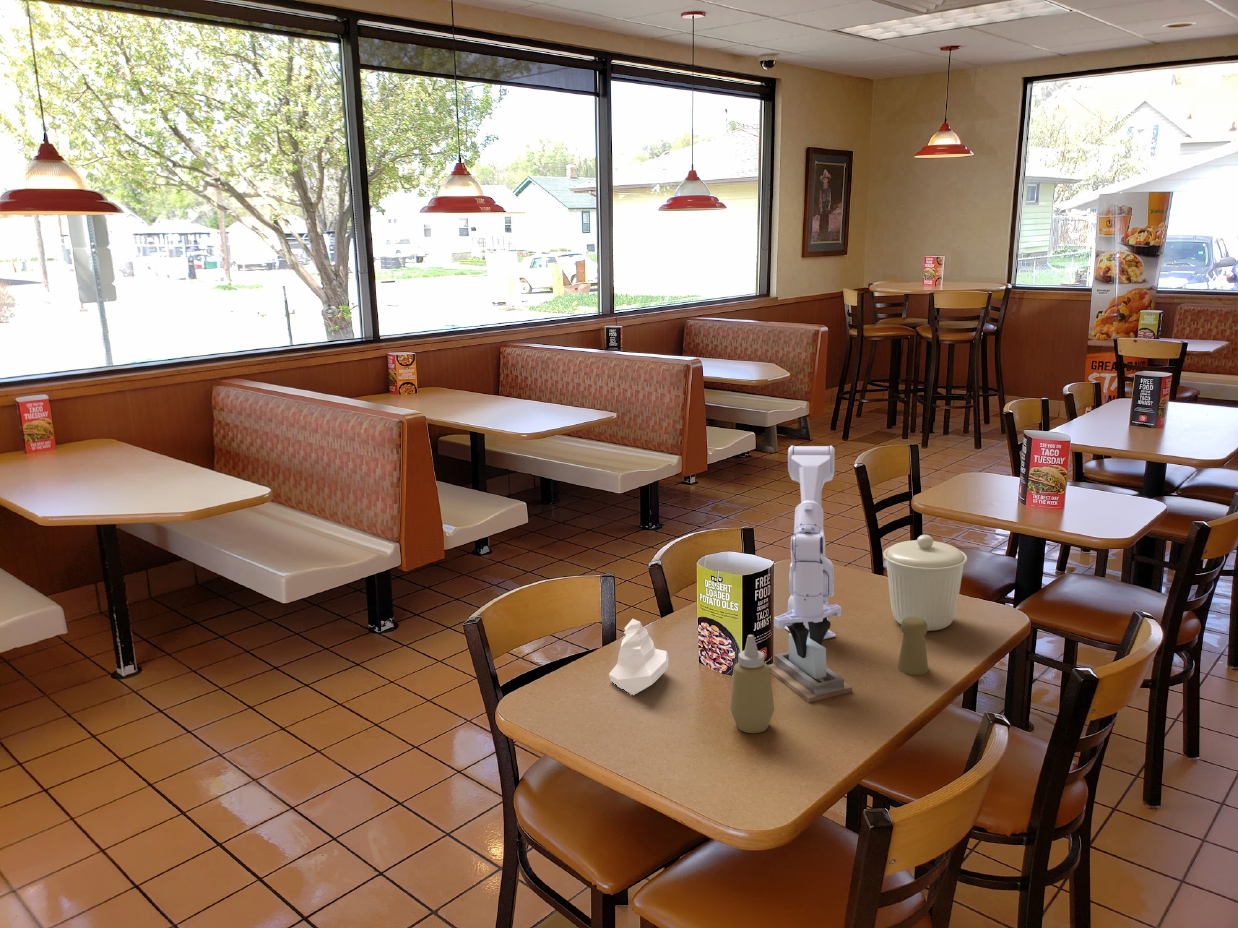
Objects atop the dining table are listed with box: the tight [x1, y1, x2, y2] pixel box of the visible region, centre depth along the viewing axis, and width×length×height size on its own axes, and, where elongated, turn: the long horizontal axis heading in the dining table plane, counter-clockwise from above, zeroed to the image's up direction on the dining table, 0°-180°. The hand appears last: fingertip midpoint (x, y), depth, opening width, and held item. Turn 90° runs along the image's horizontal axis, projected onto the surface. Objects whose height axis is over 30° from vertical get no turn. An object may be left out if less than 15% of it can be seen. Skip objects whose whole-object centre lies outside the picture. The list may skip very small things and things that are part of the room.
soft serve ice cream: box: [608, 618, 670, 696], centre depth 188 cm, size 12×15×14 cm
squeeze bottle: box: [729, 634, 775, 734], centre depth 167 cm, size 8×8×18 cm
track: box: [767, 651, 853, 703], centre depth 186 cm, size 16×10×3 cm, turn 21°
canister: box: [882, 534, 968, 632], centre depth 209 cm, size 18×18×21 cm
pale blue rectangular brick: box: [787, 632, 827, 679], centre depth 185 cm, size 10×2×6 cm, turn 21°
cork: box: [897, 617, 929, 676], centre depth 188 cm, size 6×6×11 cm
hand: (808, 654), depth 185 cm, fingers closed on pale blue rectangular brick, 2 cm apart
